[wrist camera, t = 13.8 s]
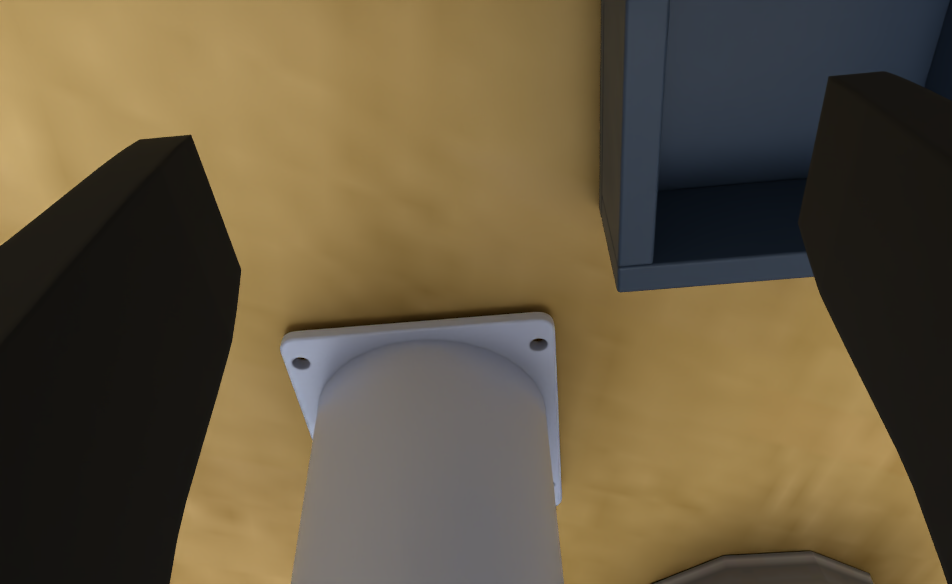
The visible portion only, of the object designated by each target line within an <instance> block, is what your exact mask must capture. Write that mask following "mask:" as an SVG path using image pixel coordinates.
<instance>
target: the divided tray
mask: <svg viewBox="0 0 952 584" xmlns="http://www.w3.org/2000/svg"><path fill="white" fill-rule="evenodd" d="M880 71H886V72H889V73H892V74H894V75H897V76H900V77H902V78H905V79H907V80H909V81H912V82H914V83H916V84H918V85H920V86H922V87H925V88H927V89H929V90H931V91H933V92H935V93H937V94H939V95H941V96H943V97H945V98H947V99H949V100H951V101H952V0H601V62H600V181H599V209H600V214H601V218H602V223H603V227H604V232H605V237H606V241H607V246H608V251H609V255H610V260H611V265H612V269H613V274H614V278H615V283H616V288H617V290H618V292H631V291H643V290H656V289H668V288H680V287H693V286H705V285H717V284H730V283H742V282H754V281H767V280H779V279H791V278H804V277H814V275H813V272H812V269H811V266H810V263H809V259H808V256H807V253H806V249H805V246H804V242H803V239H802V236H801V232H800V229H799V225H798V220H799V215H800V210H801V205H802V201H803V196H804V191H805V186H806V182H807V177H808V172H809V167H810V162H811V158H812V153H813V148H814V143H815V139H816V134H817V129H818V124H819V120H820V115H821V110H822V105H823V100H824V96H825V91H826V86H827V81H828V77H829V76H836V75H847V74H858V73H869V72H880Z"/></svg>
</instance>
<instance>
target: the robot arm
mask: <svg viewBox="0 0 952 584" xmlns="http://www.w3.org/2000/svg"><path fill="white" fill-rule="evenodd" d="M798 225H799V229H800V232H801V236H802V239H803V242H804V246H805V249H806V253H807V256H808V259H809V263H810V266H811V269H812V272H813V275H814V278H815V281H816V284H817V287H818V290H819V293H820V295H821V297H822V299H823V302H824V304H825V306H826V308H827V310H828V312H829V314H830V316H831V318H832V320H833V322H834V325H835V327H836V329H837V331H838V333H839V335H840V337H841V339H842V341H843V343H844V345H845V347H846V349H847V351H848V353H849V355H850V357H851V359H852V361H853V363H854V365H855V367H856V369H857V371H858V373H859V375H860V377H861V379H862V381H863V383H864V385H865V387H866V389H867V391H868V393H869V395H870V397H871V399H872V401H873V403H874V405H875V407H876V409H877V411H878V413H879V415H880V417H881V419H882V421H883V423H884V425H885V427H886V429H887V431H888V433H889V435H890V437H891V439H892V441H893V443H894V445H895V447H896V449H897V451H898V454H899V456H900V458H901V460H902V463H903V465H904V467H905V470H906V472H907V474H908V476H909V479H910V481H911V483H912V485H913V488H914V491H915V493H916V496H917V499H918V502H919V504H920V507H921V510H922V513H923V515H924V518H925V521H926V524H927V527H928V529H929V532H930V535H931V538H932V540H933V543H934V546H935V549H936V551H937V554H938V557H939V560H940V562H941V565H942V568H943V571H944V574H945V577H946V580H947V583H948V584H952V101H951V100H949V99H947V98H945V97H943V96H941V95H939V94H937V93H935V92H933V91H931V90H929V89H927V88H925V87H922V86H920V85H918V84H916V83H914V82H912V81H909V80H907V79H905V78H902V77H900V76H897V75H894V74H892V73H889V72H886V71H880V72H869V73H858V74H847V75H836V76H829V77H828V81H827V86H826V91H825V96H824V100H823V105H822V110H821V115H820V120H819V124H818V129H817V134H816V139H815V143H814V148H813V153H812V158H811V162H810V167H809V172H808V177H807V182H806V186H805V191H804V196H803V201H802V205H801V210H800V215H799V220H798ZM240 276H241V268H240V265H239V262H238V260H237V257H236V254H235V252H234V249H233V246H232V244H231V241H230V238H229V236H228V233H227V230H226V227H225V225H224V222H223V219H222V217H221V214H220V211H219V209H218V206H217V203H216V201H215V198H214V195H213V192H212V190H211V187H210V184H209V182H208V179H207V176H206V174H205V171H204V168H203V166H202V163H201V160H200V157H199V155H198V152H197V149H196V147H195V144H194V141H193V139H192V136H191V135H184V136H174V137H163V138H152V139H141V140H138V141H137V142H135V143H133V144H132V145H130V146H128V147H127V148H125V149H124V150H122V151H121V152H120V153H118V154H117V155H115V156H114V157H113V158H111V159H110V160H109V161H107V162H106V163H105V164H103V165H102V166H101V167H99V168H98V169H97V170H96V171H94V172H93V173H92V174H91V175H89V176H88V177H87V178H85V179H84V180H83V181H82V182H80V183H79V184H78V185H77V186H75V187H74V188H73V189H72V190H70V191H69V192H68V193H67V194H66V195H64V196H63V197H62V198H61V199H59V200H58V201H57V202H55V203H54V204H53V205H52V206H50V207H49V208H48V209H47V210H45V211H44V212H43V213H42V214H40V215H39V216H38V217H37V218H35V219H34V220H33V221H32V222H30V223H29V224H28V225H27V226H25V227H24V228H23V229H22V230H20V231H19V232H18V233H17V234H15V235H14V236H13V237H12V238H10V239H9V240H8V241H6V242H5V243H4V244H2V245H1V246H0V584H170V578H171V572H172V566H173V561H174V555H175V549H176V543H177V538H178V533H179V529H180V525H181V521H182V517H183V513H184V508H185V504H186V500H187V497H188V493H189V490H190V487H191V483H192V480H193V476H194V473H195V469H196V466H197V463H198V459H199V456H200V452H201V449H202V445H203V442H204V439H205V435H206V432H207V428H208V425H209V421H210V418H211V415H212V411H213V408H214V404H215V401H216V397H217V394H218V390H219V387H220V383H221V380H222V376H223V373H224V369H225V365H226V362H227V358H228V355H229V351H230V347H231V343H232V338H233V331H234V325H235V318H236V311H237V303H238V294H239V285H240ZM538 338H540V339H543V340H541V341H533V340H534V339H538ZM280 351H281V355H282V357H283V360H284V363H285V366H286V368H287V371H288V374H289V377H290V379H291V382H292V385H293V388H294V391H295V393H296V396H297V399H298V402H299V404H300V407H301V410H302V413H303V415H304V418H305V421H306V424H307V427H308V429H309V432H310V435H311V438H312V440H313V442H312V449H311V455H310V462H309V468H308V475H307V481H306V488H305V494H304V501H303V507H302V514H301V521H300V527H299V534H298V540H297V547H296V553H295V560H294V566H293V573H292V579H291V584H564V580H563V570H562V561H561V551H560V542H559V532H558V523H557V513H556V506H557V505H558V504H559V503H560V502H561V500H562V488H561V463H560V438H559V414H558V389H557V364H556V340H555V325H554V321H553V318H552V317H551V316H550V315H549V314H546V313H544V312H527V313H515V314H502V315H490V316H478V317H465V318H453V319H440V320H428V321H415V322H403V323H390V324H378V325H365V326H353V327H341V328H328V329H316V330H303V331H293V332H289V333H287V334H286V335H284V337H283V338H282V341H281V346H280ZM298 357H302V358H306V360H303V359H299V358H298Z"/></svg>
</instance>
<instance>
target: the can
mask: <svg viewBox="0 0 952 584" xmlns="http://www.w3.org/2000/svg"><path fill="white" fill-rule="evenodd" d="M654 584H873V581H872V579H871V576H870V574H869V573H866V572H864V571H861V570H859V569H856V568H853V567H851V566H848V565H846V564H843V563H840V562H838V561H835V560H833V559H830V558H827V557H825V556H822V555H820V554H817V553H814V552H812V551H806V552H787V553H768V554H749V555H730V556H722V557H720V558H717V559H714V560H712V561H709V562H707V563H704V564H702V565H699V566H697V567H694V568H692V569H689V570H687V571H684V572H682V573H679V574H677V575H674V576H671V577H669V578H666V579H664V580H661V581H659V582H656V583H654Z"/></svg>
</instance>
